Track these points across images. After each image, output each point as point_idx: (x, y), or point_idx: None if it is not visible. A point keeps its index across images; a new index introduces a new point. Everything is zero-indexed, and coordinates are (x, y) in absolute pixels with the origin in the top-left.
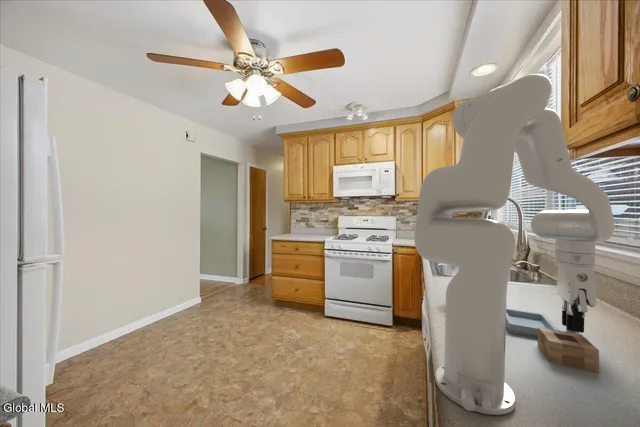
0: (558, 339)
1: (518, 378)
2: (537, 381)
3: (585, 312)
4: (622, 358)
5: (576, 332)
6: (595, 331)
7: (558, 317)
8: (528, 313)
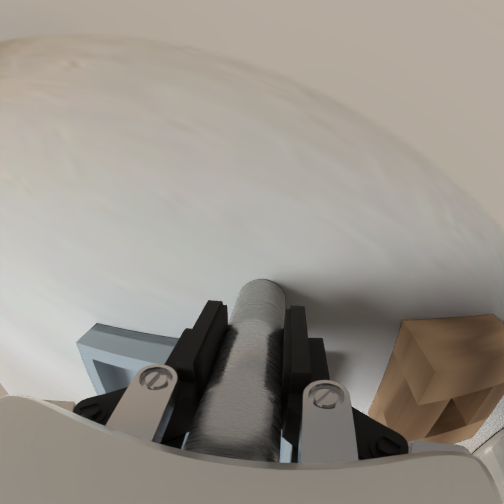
0: (468, 426)
1: (488, 424)
2: (498, 407)
3: (434, 443)
4: (389, 171)
5: (283, 321)
6: (81, 147)
7: (19, 240)
8: (106, 389)
